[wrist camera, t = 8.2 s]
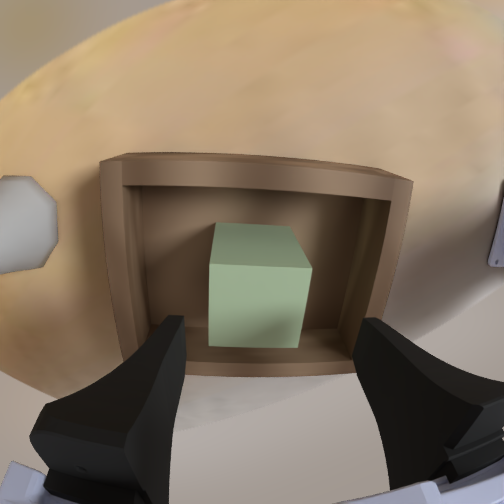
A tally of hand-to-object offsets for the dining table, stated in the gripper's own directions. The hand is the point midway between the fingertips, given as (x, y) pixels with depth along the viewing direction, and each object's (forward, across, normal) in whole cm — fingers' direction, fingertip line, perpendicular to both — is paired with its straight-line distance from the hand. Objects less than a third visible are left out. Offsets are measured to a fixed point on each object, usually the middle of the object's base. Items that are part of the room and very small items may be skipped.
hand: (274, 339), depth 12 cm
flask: (+10, +18, -2) cm, 20 cm away
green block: (+8, 0, 0) cm, 9 cm away
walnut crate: (+9, 0, 0) cm, 9 cm away
